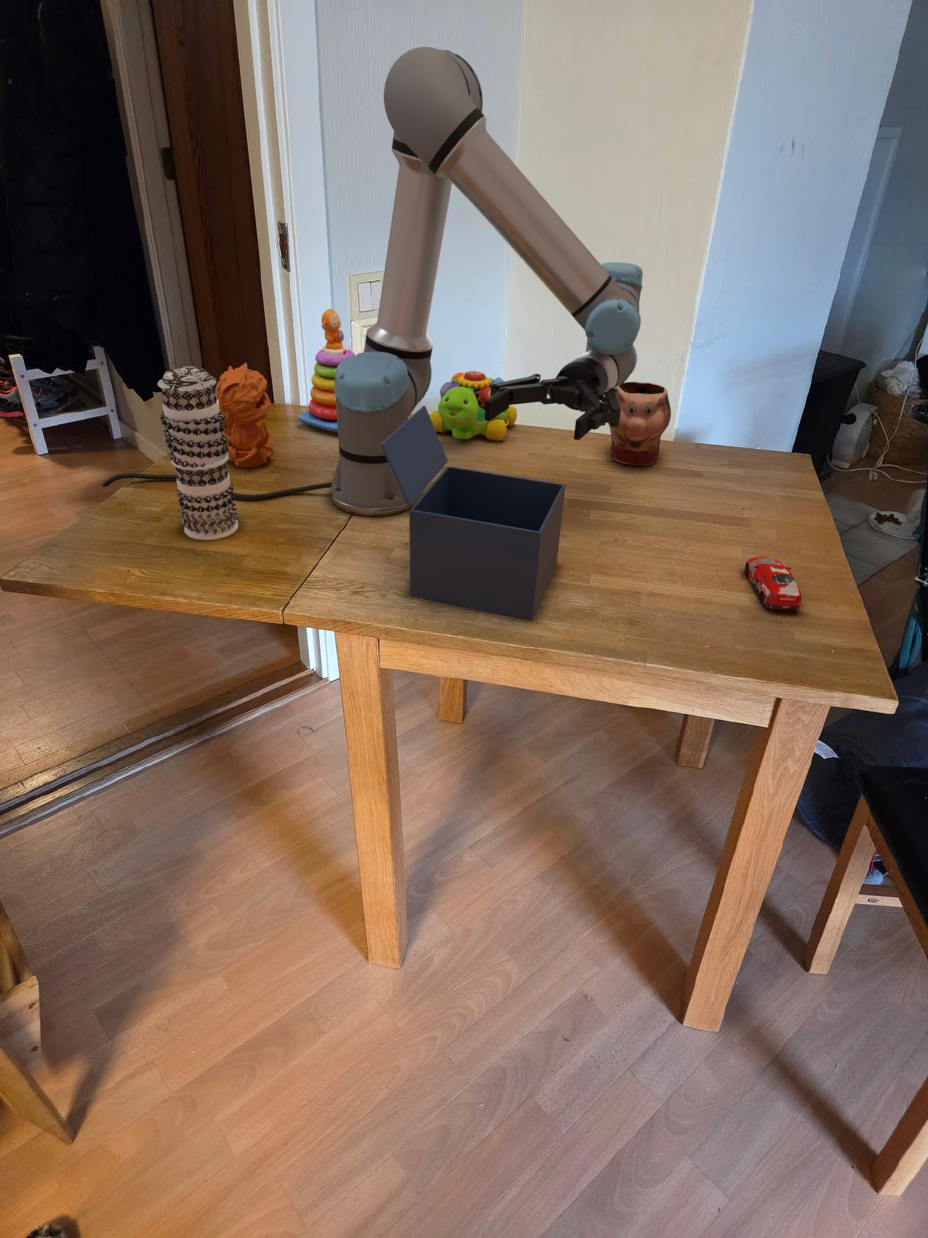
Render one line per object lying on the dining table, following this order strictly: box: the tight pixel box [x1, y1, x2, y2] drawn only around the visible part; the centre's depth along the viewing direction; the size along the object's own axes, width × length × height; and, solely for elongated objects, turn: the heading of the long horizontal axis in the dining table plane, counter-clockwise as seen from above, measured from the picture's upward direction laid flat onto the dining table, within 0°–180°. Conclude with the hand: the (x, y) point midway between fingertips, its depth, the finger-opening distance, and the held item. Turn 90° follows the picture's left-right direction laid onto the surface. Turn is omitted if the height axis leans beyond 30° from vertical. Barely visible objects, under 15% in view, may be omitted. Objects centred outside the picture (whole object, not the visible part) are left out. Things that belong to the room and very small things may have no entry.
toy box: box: [408, 465, 566, 621], centre depth 111 cm, size 18×16×13 cm
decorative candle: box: [157, 365, 239, 541], centre depth 118 cm, size 9×9×25 cm
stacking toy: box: [298, 308, 357, 433], centre depth 158 cm, size 14×13×23 cm
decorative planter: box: [607, 381, 672, 466], centre depth 152 cm, size 20×12×14 cm, turn 174°
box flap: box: [380, 405, 449, 506], centre depth 107 cm, size 9×16×1 cm
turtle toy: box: [429, 370, 518, 442], centre depth 160 cm, size 17×23×12 cm
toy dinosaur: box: [215, 362, 275, 469], centre depth 143 cm, size 11×11×18 cm
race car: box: [744, 555, 802, 611], centre depth 113 cm, size 13×5×4 cm, turn 177°
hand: (531, 420), depth 107 cm, fingers open, 13 cm apart
